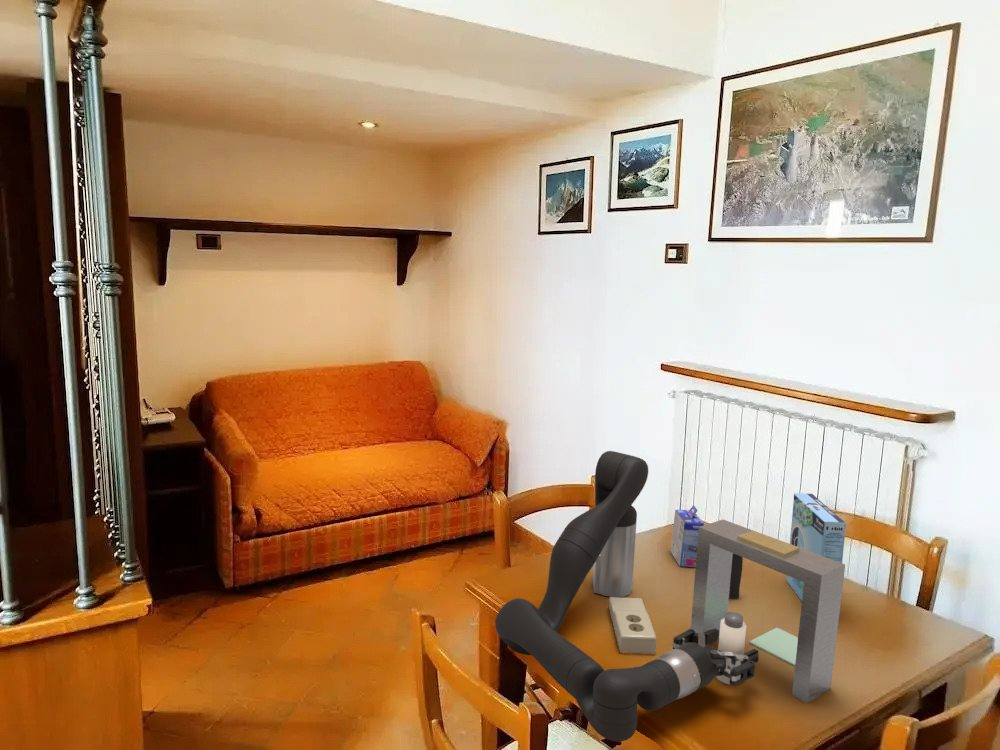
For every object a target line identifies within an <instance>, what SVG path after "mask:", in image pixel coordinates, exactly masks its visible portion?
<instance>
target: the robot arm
mask: <svg viewBox="0 0 1000 750" xmlns="http://www.w3.org/2000/svg"><path fill="white" fill-rule="evenodd" d="M648 477H649V465H648V463H647V462H646V460H644V459H642V457H641V458H640V457H637V456H634V455H631V454H626V453H622V452H618V451H613V450H607V451H605V452H603V453H602V454H601V455H600V457H599V458H598V460H597V463H596V467H595V474H594V507H592V508H590V509H588V510H587V511H585V512H583V513H582V514H580V515H578V516H576V517H575V518H573V519H572V520H570V522H569V523H568V524H567V525H566V526H565V528H564V529H563V531H562V533H561V534H560V536H559V537H558V539H556V542H555V543H554V546H553V547H552V550H551V553H550V554H551V555H550V559H549V568H548V569H549V570H548V579H547V587H546V591H545V593H544V596H543V599H542V601H541V602H540V605H539V607H538V608H537V606H535V604H533V603H532V602H531V601H529V600H527V599H525V598H522V597H521V598H519V597H518V598H513V599H511V600H509V601H507V602H506V603H505V604H503V605H502V606H501V608H500V609H499V611H497V612H498V613H497V614H496V616H495V622H494V623H495V624H494V625H495V631H496V633H497V634H498V637H499V638H500V639H501V640H502V641H503V642H504V643H505V644H506V645H507V646H508V647H509V648H510V649H511V650H513V652H515V653H518V654H522V655H526V656H532V657H533V658H534V660H536V661H537V663H539V665H540V666H542V668H543V669H544V670H545V672H547V673H548V674H549V675H550V677H551V678H552V679H553V680H555V682H556V683H557V684H558V685H560V687H562V689H564V690H565V691H566V692H567V693H568V694H569V695H570V696H571V697H573V698H574V700H575V701H576V703H577V705H578V708H580V710H581V712H582V713H583V715H584V716H585V718H586V721H588V723H589V725H590V726H591V727H592V729H594V731H595V732H596V733H597V734H598V735H600V737H603V738H604V739H606V740H609V741H612V742H619V743H621V742H624V741H628V740H629V739H631V738H632V737H633V736H634V735H635V733H636V732H637V731H636V730H637V726H638V706H639V707H640V708H642V709H643V710H644V711H645V710H646V711H648V712H651V711H652V712H653V711H656V710H659V709H662V708H663V707H665V706H667V705H668V704H670V703H673V702H675V701H677V700H680V699H683V698H685V697H688V696H689V695H692V693H693V694H694V693H695V692H697V691H698V690H701V689H702V688H704V687H707V686H708V685H709V684H711V683H712V681H714V679H715V678H717V677H716V676H723V675H724V676H726V677H727V678H729V679H730V681H729V683H730V684H731V686H737V685H739V684H741V683H743V682H746V681H748V680H749V679H752V678H755V668H756V667H755V666H756V664H757V663H758V661H759V656H760V655H759V650H758V649H756V648H752V649H750V650H749V651H746V652H744V654H743V655H735V654H734V653H733V652H722V651H720V650H718V648H715V647H714V646H712V645H711V644H713V643H714V642H717V641H719V630H717V629H713V630H708V631H706V632H704V633H703V632H699V633H695V630H693V629H691V628H690V629H686V630H684V631H683V632H682V633H679V634H678V635H676V636H673V639H672V640H673V641H672V643H673V644H672V649H671V650H669V651H666V652H665V653H663V654H660V655H659V656H658V657H657V658H655V659H653V660H651V661H649V662H647V663H644V664H642V665H641V666H634V667H626V668H625V667H624V668H608V669H604V668H603V666H602V665H600V663H599V662H597V661H596V660H595V659H594V658H593V657H591V656H589V654H587V653H585V652H584V651H583V650H582V649H580V648H579V647H577V646H576V645H575V644H573V643H572V642H570V641H569V640H568V639H567V638H565V637H564V636H562V635H561V634H560V633H558V632H559V630H560V628H561V626H562V623H563V621H564V619H565V617H566V614H567V613H568V610H569V609H570V607H571V604H572V602H573V601H574V599H575V596H576V595H577V594H578V592H579V589H580V587H582V585H583V583H584V581H585V579H586V577H587V575H588V574H589V572H590V571H591V569H592V580H591V583H592V588H593V593H594V594H600V595H602V596H605V597H608V598H610V597H619V598H625V597H627V596H629V595H630V594H631V593H632V592H633V585H634V583H633V582H634V581H633V580H634V566H635V564H634V563H635V553H636V550H635V549H636V548H635V547H636V534H637V519H638V518H637V517H638V512H637V510H636V508H635V507H634V506H633V504H634V503H635V501H636V499H637V498H638V497H639V496H640V494H641V492H642V491H643V489H644V487H645V485H646V483H647V480H648ZM726 658H730V659H729V665H728V666H727V667H726ZM736 661H741V664H740V665H735V664H736ZM730 684H729V685H730Z"/></svg>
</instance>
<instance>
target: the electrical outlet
mask: <svg viewBox="0 0 1000 750" xmlns="http://www.w3.org/2000/svg"><path fill="white" fill-rule="evenodd" d="M608 598H609V600H608V601H609V603H608V610H610V611H609V615H610V618H611V622H613V623H612V626H614V627H613V631H614V630H615V631H614V634H616V635H615V639H616V638H617V639H616V643H617V642H618V643H617V647H618V646H619V647H618V650H620V651H619V653H620V652H627V653H626V654H632V653H641V654H640V655H656V654H657V642H658V641H657V639H658V638H657V636H656V632H655V629H654V627H653V624H652V621H651V618H650V615H649V613H648V611H647V610H646V606H645V604H644V601H643V599H642V598H640V597H608Z"/></svg>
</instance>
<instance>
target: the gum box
mask: <svg viewBox="0 0 1000 750" xmlns="http://www.w3.org/2000/svg"><path fill="white" fill-rule="evenodd" d="M846 527H847V523H846V521H844V520H843V519H842V518H841V517H839V515H837V514H836V513H835V512H834V511H833V510H831V509H830V508H829V507H828V506H827V505H825V503H823V502H822V501H821V500H820V499H819V498H818V497H816V496H815V495H814V494H813V493H805V492H803V493H802V492H799V493H798V492H796V493H795V492H794V493H793V503H792V515H791V528H790V538H789V544H791V545H794V546H797V547H799V548H802V549H805V550H808V551H810V552H813V553H816V554H818V555H821V556H824V557H826V558H829V559H832V560H835V561H837V562H840V563H843V559H844V558H843V557H844V551H845V550H844V549H845V537H846V529H847V528H846ZM786 582H787V583H788V585H789V586H790V588H791V589H792V590H793V591H794V593H795V594H796V596H797V597H798V598H799V600H800V601H801V602H802V597H803V588H804V582H802V581H800V580H797V579H795V578H793V577H790V576H788V575H786Z"/></svg>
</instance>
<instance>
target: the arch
mask: <svg viewBox="0 0 1000 750" xmlns="http://www.w3.org/2000/svg"><path fill="white" fill-rule="evenodd" d="M733 553H734V554H736V555H739V556H741V557H742V558H745V559H747V560H749V561H751V562H754V563H756V564H759V565H761V566H764V567H766V568H768V569H771V570H773V571H776V572H778V573H781V574H783V575H786V576H787V575H788V576H790V577H793V578H795V579H797V580H800V581H802V582H804V588H803V597H802V601H801V608H800V618H799V627H798V635H797V636H798V644H797V653H796V662H795V666H794V673H793V680H792V681H793V684H792V689H791V690H792V691H791V693H792V694H791V696H793V697H795V698H796V699H798V700H800V701H802V702H804V703H806V704H807V705H808V704H809V703H811V702H812V701H815V699H817V698H818V697H820V696H821V695H823V694H825V693H826V692H827V691H829V690H831V688H832V681H833V671H834V663H835V655H836V647H837V638H838V630H839V622H840V613H841V604H842V597H843V590H844V589H843V588H844V580H845V571H846V564H845V563H843V562H842V563H840V562H837V561H835V560H832V559H829V558H826V557H824V556H821V555H818V554H816V553H813V552H810V551H808V550H805V549H802V548H799V547H797V546H794V545H791V544H790V542H785V541H784V540H780V539H778V538H775V537H772V536H769V535H766V534H763V533H761V532H758V531H756V530H753V529H750V528H748V527H745V526H742V525H740V524H737V523H734V522H731V521H729V520H726V519H720V520H717V521H716V520H715V521H713V522H711V523H707V524H704V526H701V527H699V531H698V544H697V556H696V567H695V571H694V580H693V581H694V584H693V595H692V596H693V597H692V607H691V608H692V609H691V621H690V622H691V623H690V629H693V630H695V633H699V632H703V633H704V632H706V631H708V630H713V629H717V630H719V633H720V622H721V619H723V618H725V614H726V613H727V612H729V611H728V610H729V601H730V598H729V590H730V579H731V567H732V556H733Z"/></svg>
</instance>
